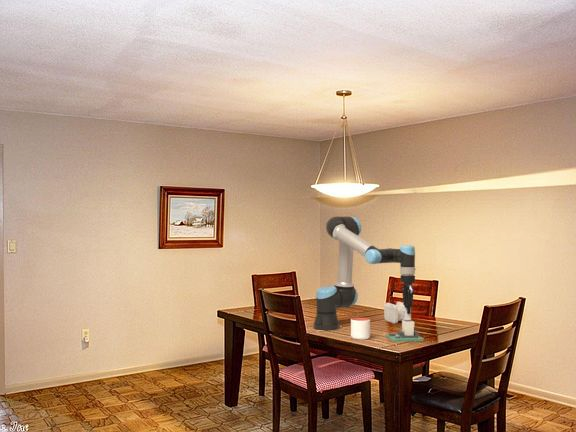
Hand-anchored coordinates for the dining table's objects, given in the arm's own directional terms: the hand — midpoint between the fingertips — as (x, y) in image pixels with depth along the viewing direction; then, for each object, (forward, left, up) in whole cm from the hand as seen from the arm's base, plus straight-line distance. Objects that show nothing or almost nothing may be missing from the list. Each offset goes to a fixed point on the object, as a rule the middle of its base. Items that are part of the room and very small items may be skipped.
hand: (407, 319), depth 293 cm
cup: (-25, +4, -10) cm, 27 cm away
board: (-2, 0, -10) cm, 10 cm away
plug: (0, 0, -9) cm, 9 cm away
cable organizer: (+9, +48, -10) cm, 50 cm away
